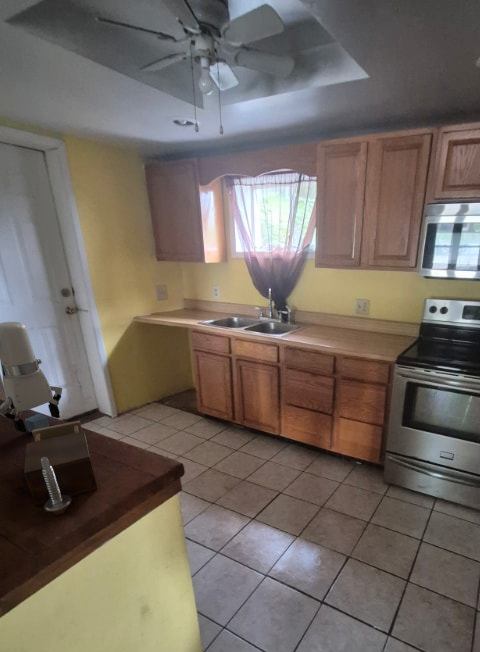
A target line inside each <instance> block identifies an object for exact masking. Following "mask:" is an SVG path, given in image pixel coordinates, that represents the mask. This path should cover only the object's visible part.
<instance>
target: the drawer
mask: <svg viewBox="0 0 480 652" xmlns="http://www.w3.org/2000/svg"><path fill="white" fill-rule="evenodd" d="M78 432H83V429H82V425H81V421H80V420H76V421H75V420H74V421H69V422H64V423H60V424H55V425H50V426H49V427H45V428H40V429H35V430H32V433H31V434H32V437H33V440H34V442H37V441H41V440H46V439H51V438H55V437H60V436H64V435H69V434H74V433H78Z"/></svg>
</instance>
